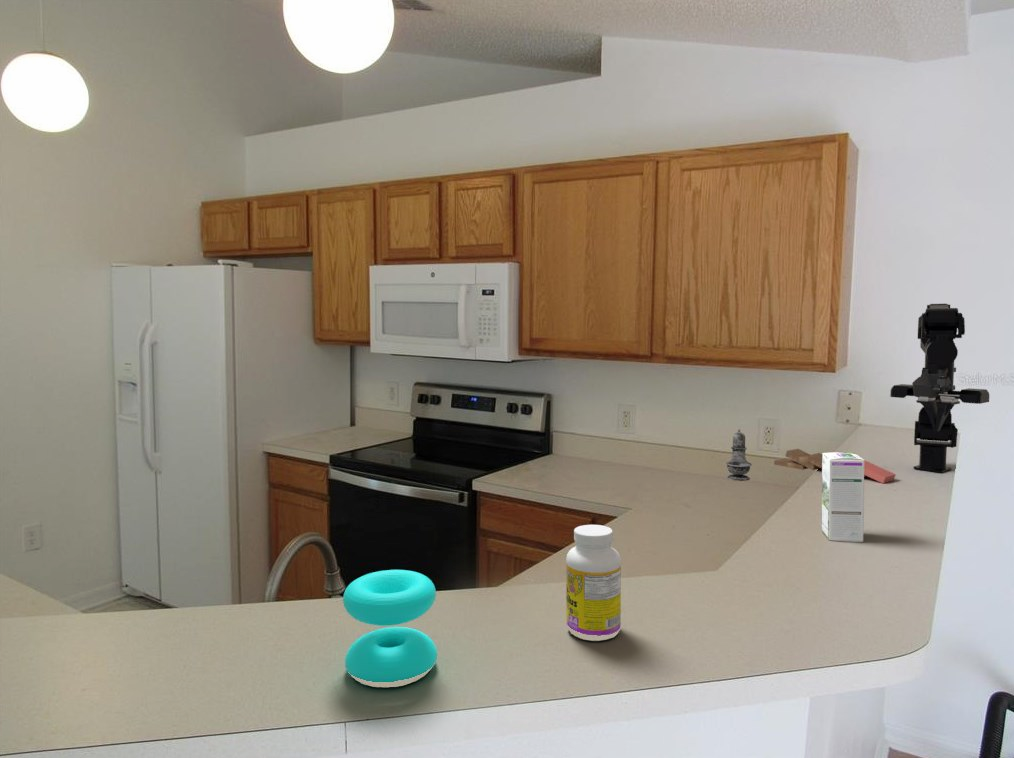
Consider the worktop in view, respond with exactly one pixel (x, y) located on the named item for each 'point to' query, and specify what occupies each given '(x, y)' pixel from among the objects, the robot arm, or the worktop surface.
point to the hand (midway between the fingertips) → (936, 430)
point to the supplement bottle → (593, 582)
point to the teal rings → (390, 604)
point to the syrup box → (843, 496)
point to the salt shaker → (738, 459)
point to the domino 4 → (877, 473)
